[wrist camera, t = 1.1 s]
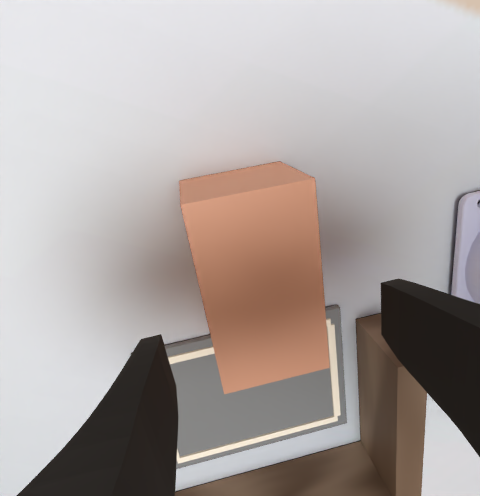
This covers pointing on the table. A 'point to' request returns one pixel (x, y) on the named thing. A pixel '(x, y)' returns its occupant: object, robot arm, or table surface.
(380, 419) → the corner wall
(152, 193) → the table surface
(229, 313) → the terracotta block
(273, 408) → the pad
